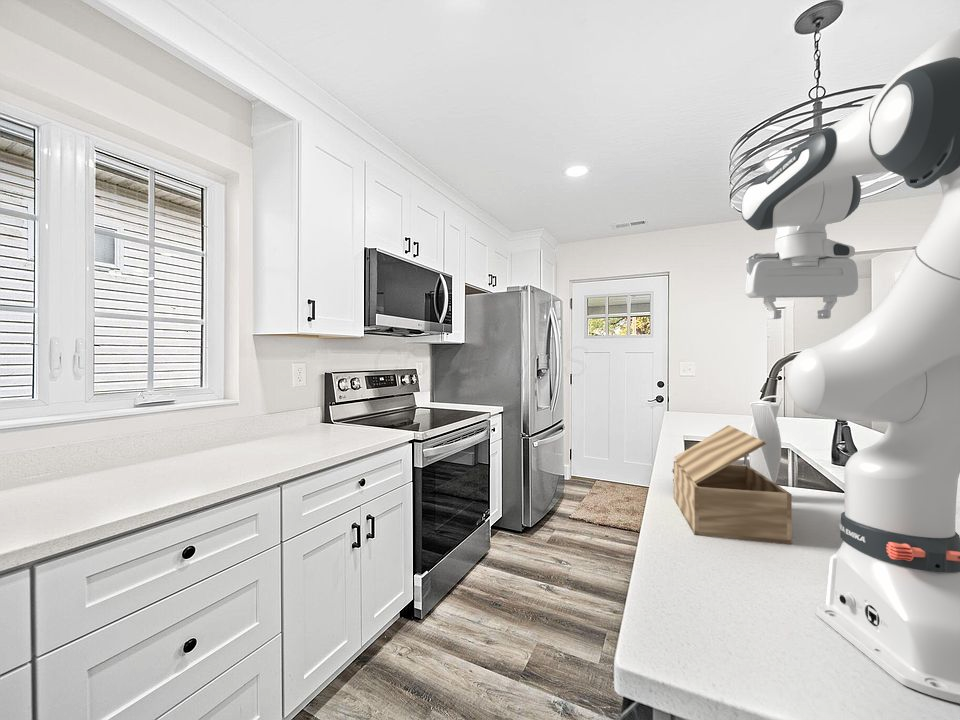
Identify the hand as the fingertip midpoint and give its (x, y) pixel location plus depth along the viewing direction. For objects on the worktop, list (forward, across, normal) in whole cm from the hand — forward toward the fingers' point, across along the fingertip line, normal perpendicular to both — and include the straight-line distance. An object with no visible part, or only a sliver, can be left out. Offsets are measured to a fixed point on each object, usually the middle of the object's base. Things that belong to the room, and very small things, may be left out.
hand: (799, 318), depth 91 cm
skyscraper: (+46, +8, +29) cm, 55 cm away
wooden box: (+46, -10, +10) cm, 48 cm away
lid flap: (+30, -12, +11) cm, 35 cm away
